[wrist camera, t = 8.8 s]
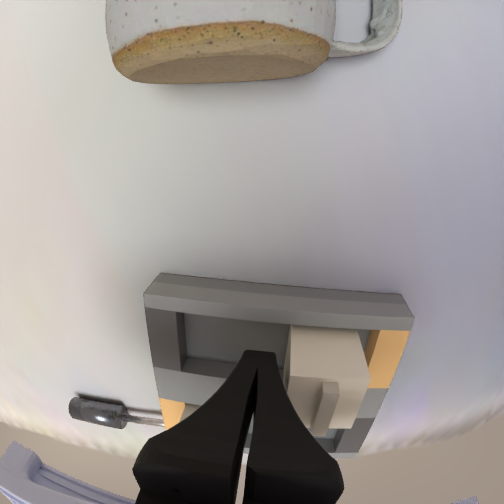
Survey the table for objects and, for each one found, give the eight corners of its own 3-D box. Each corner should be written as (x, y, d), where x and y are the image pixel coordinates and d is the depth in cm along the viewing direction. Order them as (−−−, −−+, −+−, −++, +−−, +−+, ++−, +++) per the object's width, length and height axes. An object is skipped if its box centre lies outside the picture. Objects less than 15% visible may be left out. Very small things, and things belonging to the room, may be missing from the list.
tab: (354, 321, 14) (373, 390, 10) (342, 369, 15) (352, 439, 11) (291, 316, 15) (289, 387, 10) (283, 365, 16) (280, 436, 11)
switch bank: (401, 294, 15) (414, 317, 13) (351, 433, 19) (354, 458, 17) (160, 272, 16) (143, 293, 14) (176, 416, 20) (167, 440, 18)
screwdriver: (200, 408, 19) (194, 428, 17) (206, 424, 20) (200, 444, 18) (76, 392, 21) (65, 407, 19) (85, 408, 21) (75, 423, 20)
